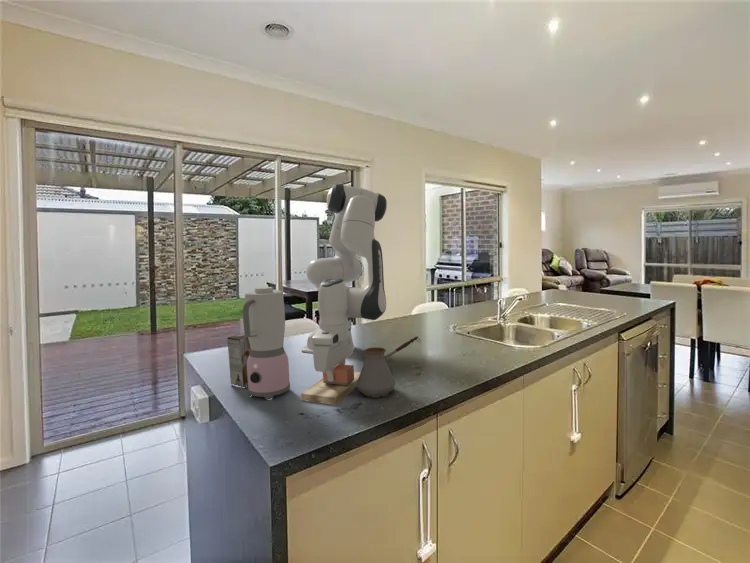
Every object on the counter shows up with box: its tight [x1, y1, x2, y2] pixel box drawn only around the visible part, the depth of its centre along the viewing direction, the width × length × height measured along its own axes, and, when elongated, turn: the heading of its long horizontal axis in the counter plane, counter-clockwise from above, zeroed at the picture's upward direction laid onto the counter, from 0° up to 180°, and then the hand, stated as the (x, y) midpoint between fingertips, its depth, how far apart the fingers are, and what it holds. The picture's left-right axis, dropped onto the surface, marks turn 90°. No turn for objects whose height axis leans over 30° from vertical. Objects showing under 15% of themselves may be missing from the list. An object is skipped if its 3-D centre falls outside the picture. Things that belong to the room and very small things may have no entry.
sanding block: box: [322, 364, 355, 385], centre depth 121 cm, size 8×5×4 cm, turn 70°
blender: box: [242, 286, 291, 400], centre depth 117 cm, size 16×12×32 cm
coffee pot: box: [356, 336, 422, 398], centre depth 119 cm, size 21×12×15 cm, turn 117°
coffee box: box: [227, 332, 251, 387], centre depth 128 cm, size 9×6×16 cm
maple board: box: [300, 371, 361, 405], centre depth 122 cm, size 11×22×2 cm, turn 160°
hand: (336, 377), depth 121 cm, fingers closed on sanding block, 5 cm apart
